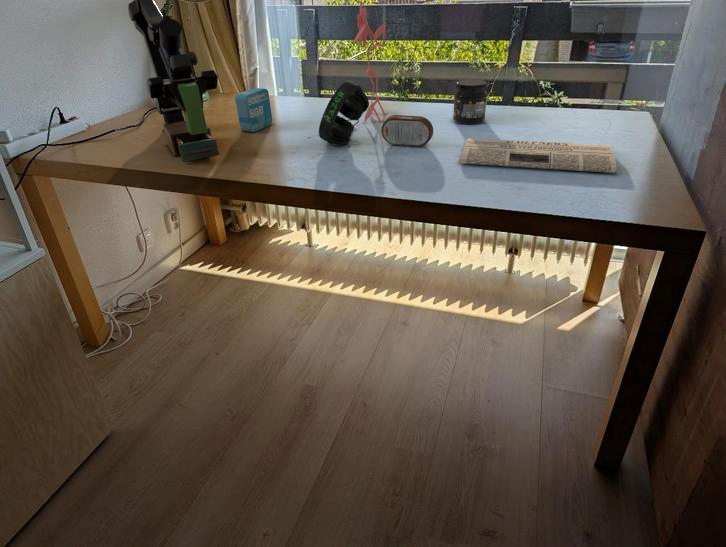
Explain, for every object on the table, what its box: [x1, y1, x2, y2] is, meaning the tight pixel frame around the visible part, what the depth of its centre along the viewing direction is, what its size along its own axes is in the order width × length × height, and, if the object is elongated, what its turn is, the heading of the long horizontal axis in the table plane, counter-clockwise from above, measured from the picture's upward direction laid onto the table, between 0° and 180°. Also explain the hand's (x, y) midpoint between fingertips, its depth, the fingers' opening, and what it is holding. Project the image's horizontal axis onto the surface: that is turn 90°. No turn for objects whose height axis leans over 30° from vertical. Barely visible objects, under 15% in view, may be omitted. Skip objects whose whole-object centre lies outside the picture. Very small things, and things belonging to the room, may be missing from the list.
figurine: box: [352, 3, 387, 123], centre depth 162 cm, size 15×26×35 cm, turn 168°
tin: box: [380, 114, 434, 148], centre depth 141 cm, size 15×3×8 cm, turn 71°
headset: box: [318, 79, 370, 147], centre depth 146 cm, size 18×14×29 cm
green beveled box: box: [177, 82, 208, 135], centre depth 137 cm, size 4×4×13 cm
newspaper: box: [459, 138, 617, 174], centre depth 129 cm, size 37×19×3 cm, turn 73°
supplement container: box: [452, 79, 488, 125], centre depth 159 cm, size 10×10×12 cm
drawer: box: [174, 133, 220, 163], centre depth 141 cm, size 16×10×5 cm, turn 28°
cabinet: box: [162, 120, 212, 157], centre depth 150 cm, size 13×11×6 cm
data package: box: [234, 87, 273, 133], centre depth 163 cm, size 12×4×12 cm, turn 152°
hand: (193, 109), depth 136 cm, fingers closed on green beveled box, 4 cm apart
